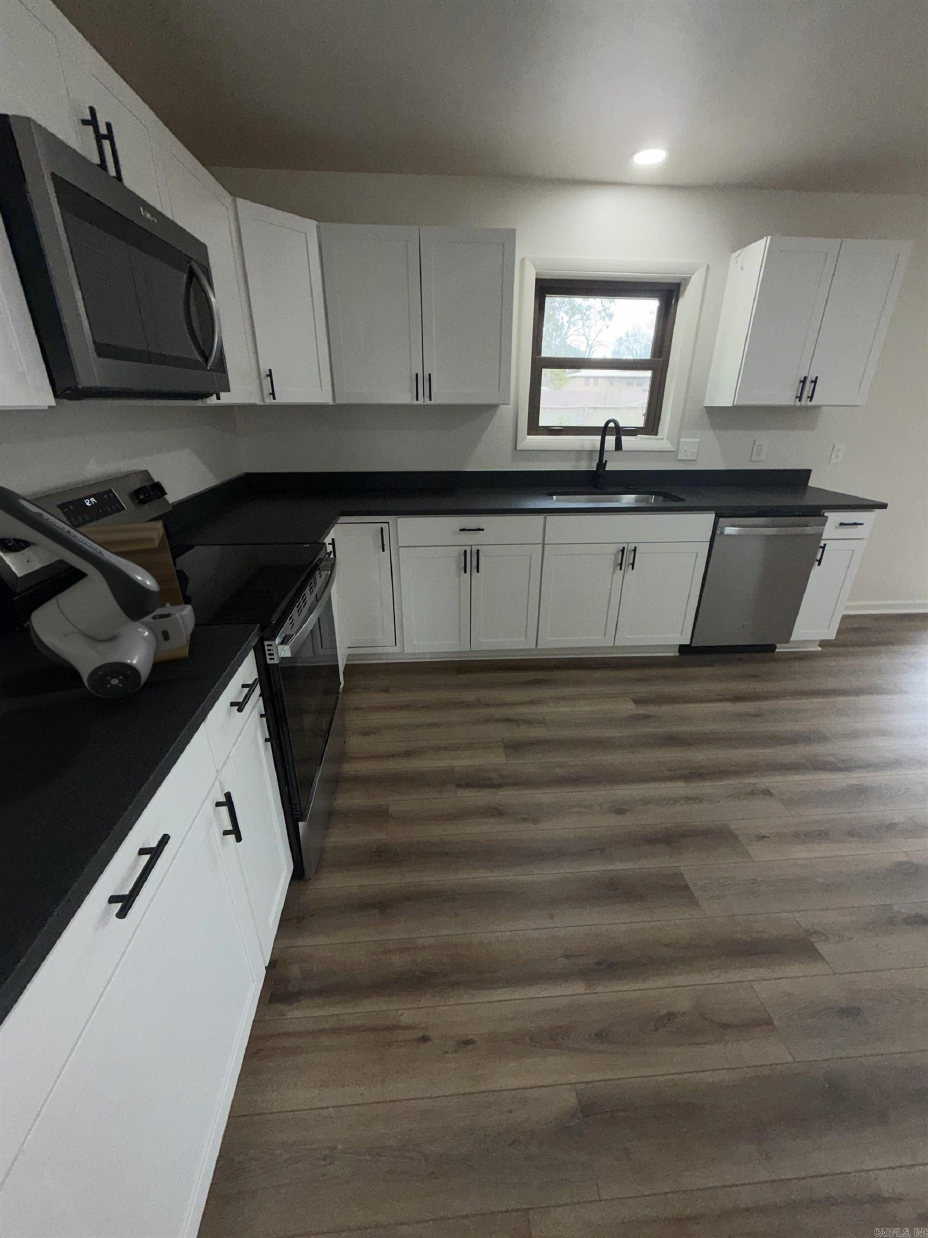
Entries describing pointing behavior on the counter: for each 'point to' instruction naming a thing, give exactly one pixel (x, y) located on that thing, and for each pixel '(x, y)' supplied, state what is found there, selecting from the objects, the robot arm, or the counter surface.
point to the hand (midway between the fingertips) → (140, 610)
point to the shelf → (145, 562)
